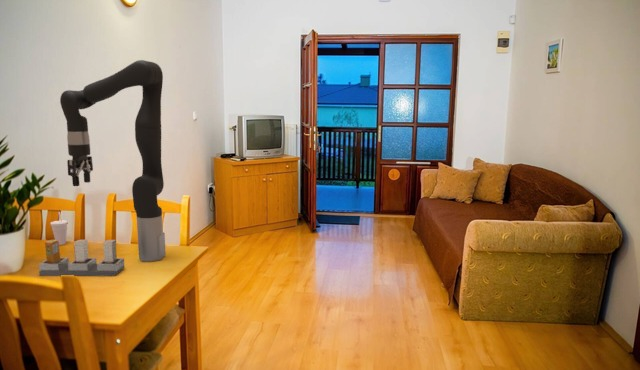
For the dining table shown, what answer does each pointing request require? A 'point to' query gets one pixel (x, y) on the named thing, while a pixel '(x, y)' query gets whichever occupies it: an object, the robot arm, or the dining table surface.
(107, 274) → the rail
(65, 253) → the dining table surface
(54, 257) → the supplement box
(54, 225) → the smoothie
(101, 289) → the dining table surface
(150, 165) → the robot arm
